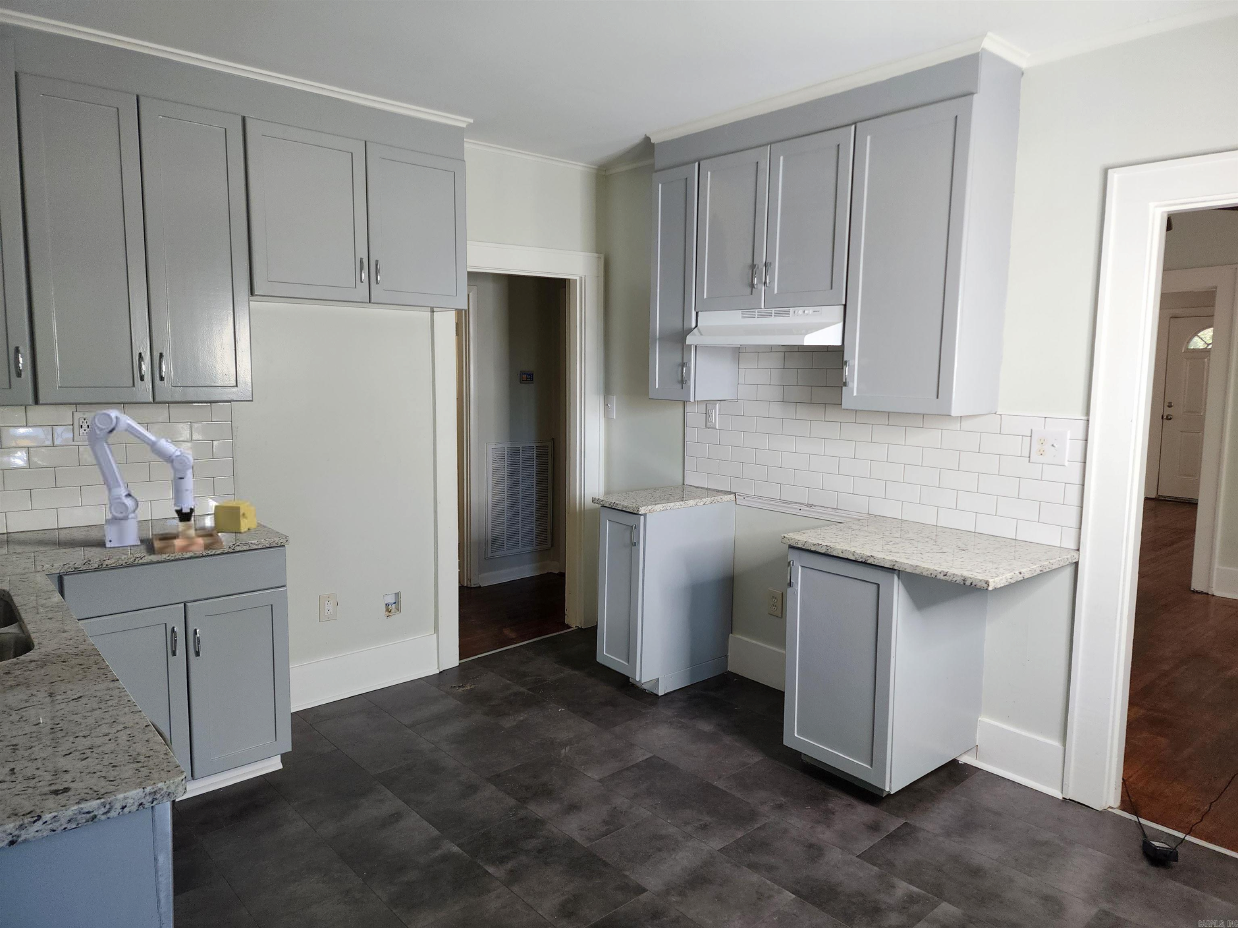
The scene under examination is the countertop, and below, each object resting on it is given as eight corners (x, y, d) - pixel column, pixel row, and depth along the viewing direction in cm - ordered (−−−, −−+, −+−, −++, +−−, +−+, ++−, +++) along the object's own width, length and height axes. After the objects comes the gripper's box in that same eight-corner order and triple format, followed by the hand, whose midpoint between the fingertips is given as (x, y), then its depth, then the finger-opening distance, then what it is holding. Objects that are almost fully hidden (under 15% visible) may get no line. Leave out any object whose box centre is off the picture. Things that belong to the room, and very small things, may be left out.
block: (179, 538, 266) (178, 524, 265) (178, 535, 269) (177, 522, 269) (194, 537, 268) (194, 523, 268) (193, 534, 272) (192, 521, 271)
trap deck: (155, 554, 253) (155, 546, 253) (152, 541, 272) (151, 534, 272) (223, 548, 263) (222, 541, 263) (215, 536, 282) (215, 529, 282)
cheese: (257, 527, 298) (256, 500, 297) (241, 533, 288) (240, 505, 286) (230, 526, 299) (229, 499, 298) (213, 532, 289) (212, 504, 287)
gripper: (199, 492, 266) (200, 533, 268) (195, 486, 278) (196, 525, 280) (174, 493, 262) (176, 534, 264) (171, 487, 275) (173, 527, 276)
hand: (185, 530), depth 272 cm, fingers closed
